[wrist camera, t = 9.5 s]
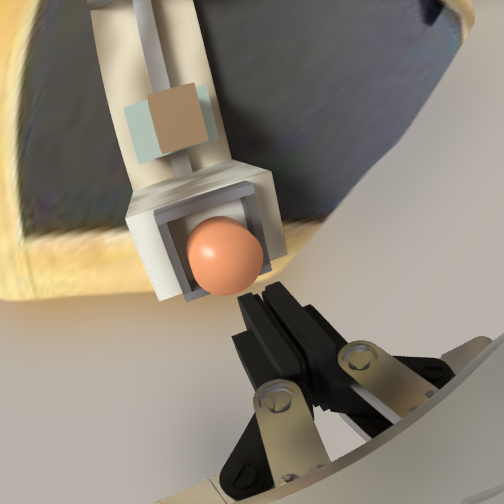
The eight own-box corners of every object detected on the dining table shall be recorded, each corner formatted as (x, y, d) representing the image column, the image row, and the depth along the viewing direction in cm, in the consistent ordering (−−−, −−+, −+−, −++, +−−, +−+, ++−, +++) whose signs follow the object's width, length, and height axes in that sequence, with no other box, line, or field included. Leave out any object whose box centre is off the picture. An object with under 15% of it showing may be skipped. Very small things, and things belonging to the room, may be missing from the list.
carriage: (199, 90, 24) (223, 68, 16) (211, 138, 26) (240, 140, 18) (126, 111, 23) (114, 98, 14) (140, 161, 25) (134, 172, 17)
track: (183, -22, 19) (210, -93, 8) (241, 214, 32) (296, 262, 21) (91, 1, 17) (67, -63, 6) (154, 244, 30) (160, 312, 19)
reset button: (241, 207, 18) (255, 217, 15) (255, 264, 19) (269, 280, 17) (177, 228, 17) (182, 242, 15) (197, 285, 19) (204, 305, 16)
